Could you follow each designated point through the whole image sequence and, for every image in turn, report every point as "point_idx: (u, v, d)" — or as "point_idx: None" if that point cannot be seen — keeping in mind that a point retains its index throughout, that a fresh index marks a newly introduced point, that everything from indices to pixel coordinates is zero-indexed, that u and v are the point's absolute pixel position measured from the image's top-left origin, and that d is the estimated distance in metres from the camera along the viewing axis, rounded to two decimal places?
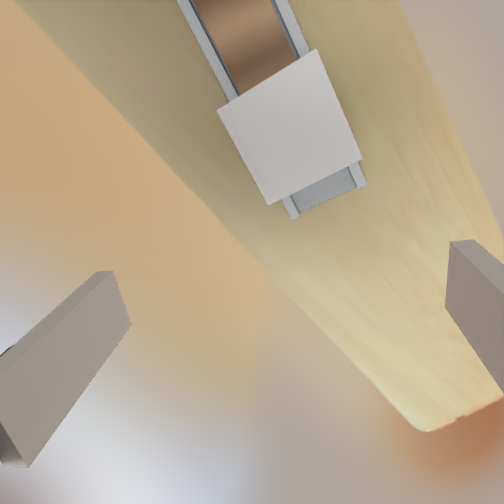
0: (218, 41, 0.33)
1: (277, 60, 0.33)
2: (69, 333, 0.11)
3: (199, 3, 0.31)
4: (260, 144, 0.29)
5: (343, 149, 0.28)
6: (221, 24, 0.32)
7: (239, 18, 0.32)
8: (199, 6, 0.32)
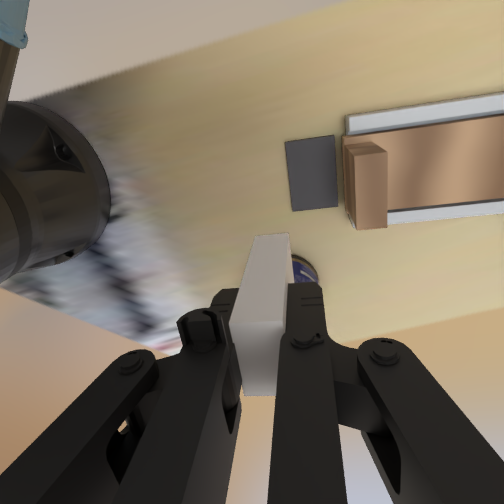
0: (460, 197, 0.27)
1: None
2: None
3: (413, 202, 0.28)
4: None
5: None
6: (447, 187, 0.27)
7: (455, 164, 0.26)
8: (416, 203, 0.28)
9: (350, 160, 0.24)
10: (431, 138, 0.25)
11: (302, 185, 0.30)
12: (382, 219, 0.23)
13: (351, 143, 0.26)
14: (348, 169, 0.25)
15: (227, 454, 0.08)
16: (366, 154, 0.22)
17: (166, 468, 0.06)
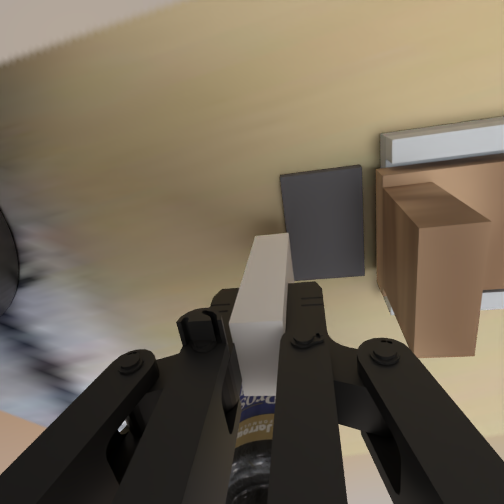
0: None
1: None
2: None
3: (497, 281, 0.16)
4: None
5: None
6: None
7: None
8: (501, 283, 0.16)
9: (401, 225, 0.13)
10: None
11: (308, 244, 0.19)
12: (466, 342, 0.12)
13: (395, 184, 0.15)
14: (392, 234, 0.14)
15: (227, 454, 0.08)
16: (444, 224, 0.11)
17: (166, 468, 0.06)
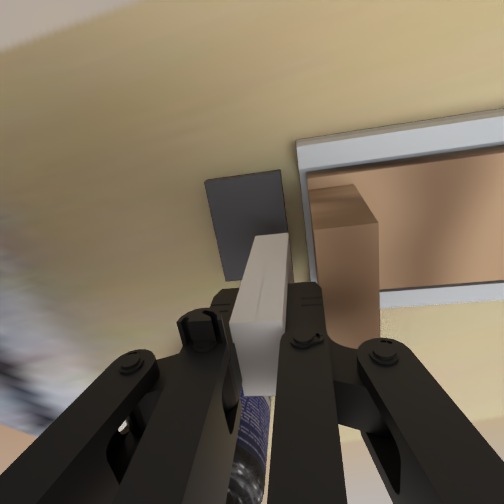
0: (501, 273, 0.16)
1: None
2: None
3: (424, 279, 0.17)
4: None
5: None
6: (480, 256, 0.16)
7: (494, 222, 0.15)
8: (428, 280, 0.17)
9: (312, 226, 0.13)
10: (456, 179, 0.15)
11: (237, 245, 0.20)
12: (371, 337, 0.13)
13: (319, 187, 0.16)
14: None
15: (227, 454, 0.08)
16: (337, 226, 0.11)
17: (166, 468, 0.06)
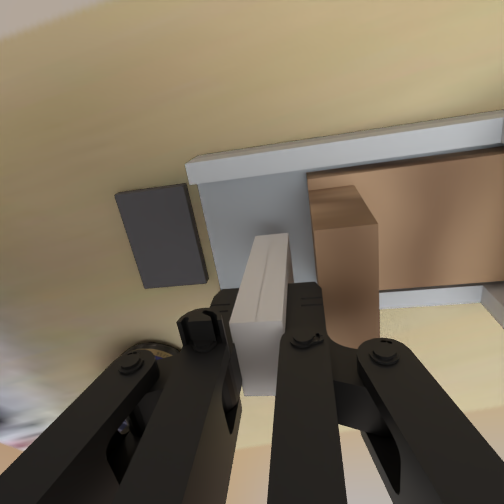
0: (500, 274, 0.16)
1: None
2: None
3: (424, 279, 0.17)
4: None
5: None
6: (480, 257, 0.16)
7: (494, 223, 0.15)
8: (428, 281, 0.17)
9: (312, 226, 0.13)
10: (456, 180, 0.15)
11: (151, 255, 0.21)
12: (370, 337, 0.13)
13: (319, 187, 0.16)
14: None
15: (227, 454, 0.08)
16: (337, 226, 0.11)
17: (166, 468, 0.06)
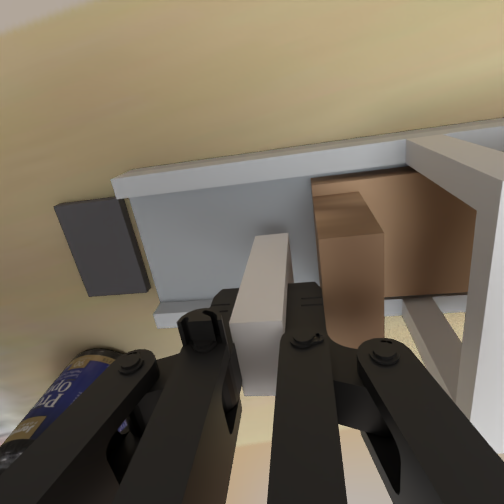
0: None
1: None
2: None
3: (428, 287, 0.17)
4: None
5: None
6: None
7: None
8: (432, 289, 0.17)
9: None
10: None
11: (93, 264, 0.21)
12: None
13: (324, 194, 0.15)
14: None
15: (227, 454, 0.08)
16: (342, 235, 0.11)
17: (166, 468, 0.06)
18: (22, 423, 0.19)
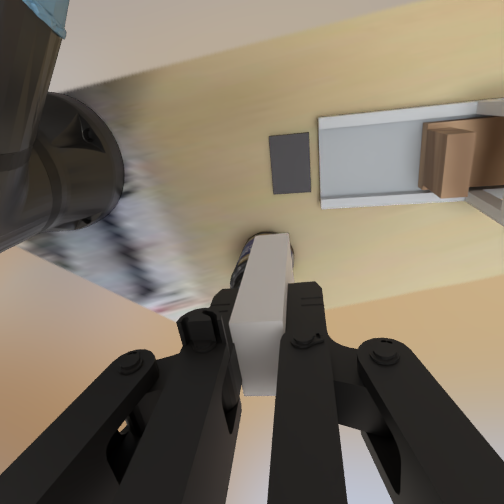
0: None
1: None
2: None
3: (481, 182, 0.32)
4: None
5: None
6: None
7: None
8: (483, 183, 0.32)
9: (438, 140, 0.29)
10: None
11: (282, 173, 0.37)
12: (464, 189, 0.28)
13: (433, 128, 0.31)
14: (432, 149, 0.30)
15: (227, 454, 0.08)
16: (457, 133, 0.27)
17: (166, 468, 0.06)
18: (247, 255, 0.35)
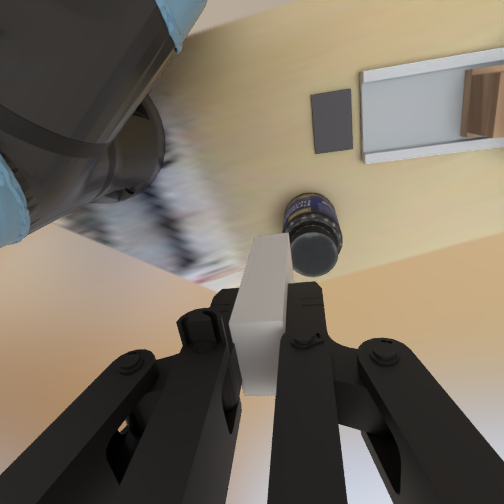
0: None
1: None
2: None
3: None
4: None
5: None
6: None
7: None
8: None
9: (487, 81, 0.29)
10: None
11: (324, 131, 0.37)
12: None
13: (478, 73, 0.32)
14: (479, 92, 0.31)
15: (227, 454, 0.08)
16: None
17: (166, 468, 0.06)
18: (296, 212, 0.36)
